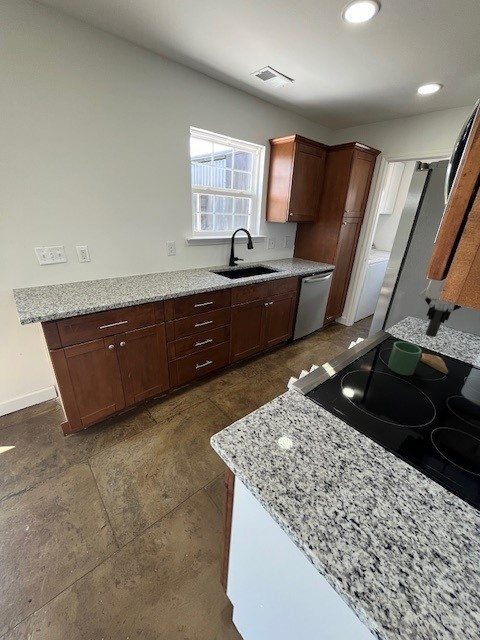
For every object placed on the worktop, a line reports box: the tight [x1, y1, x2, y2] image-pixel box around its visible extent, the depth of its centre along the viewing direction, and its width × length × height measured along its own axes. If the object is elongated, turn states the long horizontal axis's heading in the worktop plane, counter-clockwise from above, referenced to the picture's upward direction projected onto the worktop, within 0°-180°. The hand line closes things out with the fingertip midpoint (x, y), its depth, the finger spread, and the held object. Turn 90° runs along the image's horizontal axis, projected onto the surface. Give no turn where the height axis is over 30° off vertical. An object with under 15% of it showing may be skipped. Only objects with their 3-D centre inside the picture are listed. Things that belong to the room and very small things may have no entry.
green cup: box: [387, 341, 422, 376], centre depth 96 cm, size 9×9×9 cm
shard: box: [420, 352, 449, 375], centre depth 100 cm, size 11×8×2 cm
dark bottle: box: [425, 303, 446, 338], centre depth 86 cm, size 3×3×11 cm
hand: (436, 319), depth 86 cm, fingers closed on dark bottle, 3 cm apart
